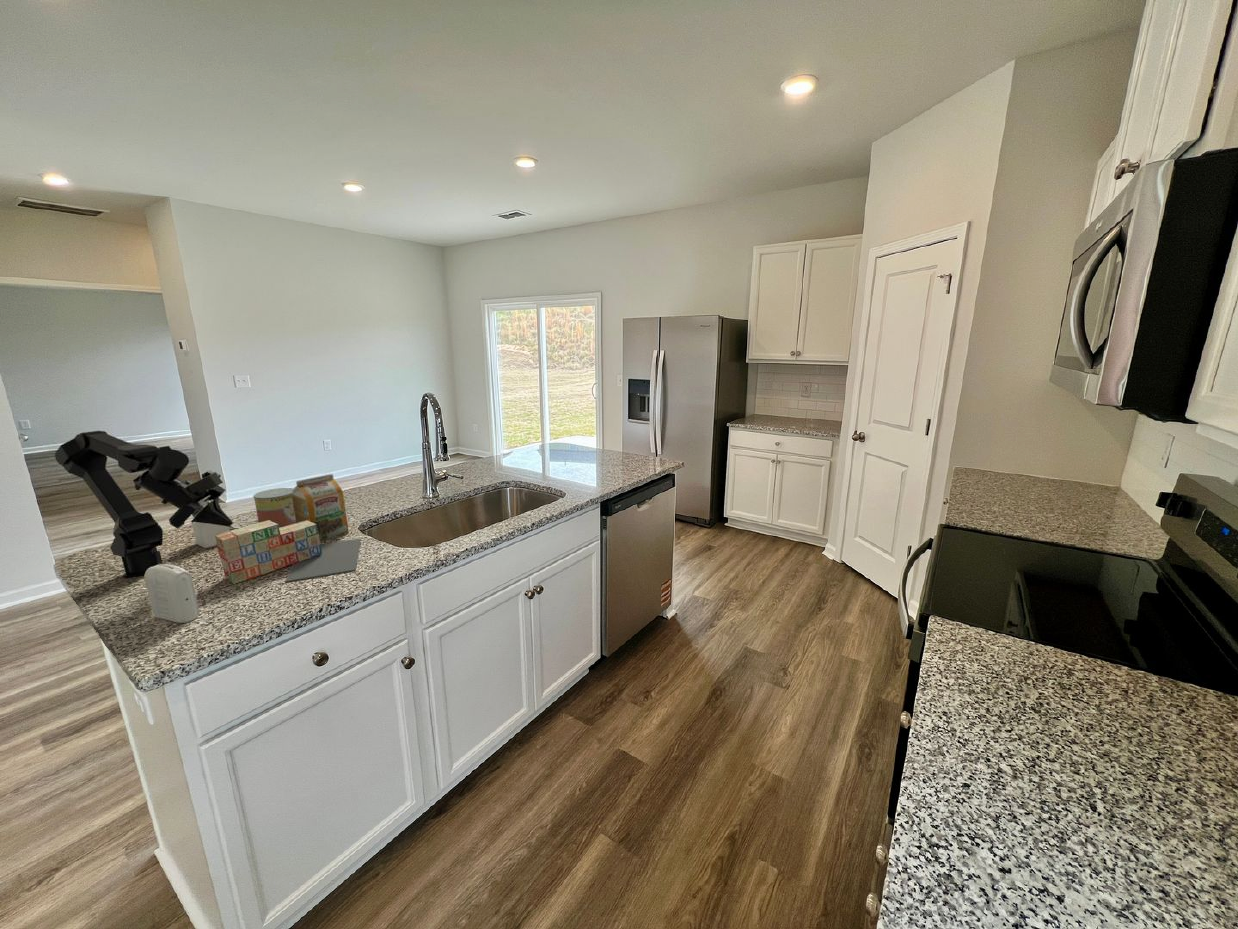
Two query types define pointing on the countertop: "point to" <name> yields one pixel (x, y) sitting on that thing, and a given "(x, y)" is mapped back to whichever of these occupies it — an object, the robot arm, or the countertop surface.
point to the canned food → (275, 506)
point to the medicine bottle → (207, 533)
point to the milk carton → (321, 505)
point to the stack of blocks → (266, 548)
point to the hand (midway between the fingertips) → (231, 524)
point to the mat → (327, 561)
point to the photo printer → (171, 593)
